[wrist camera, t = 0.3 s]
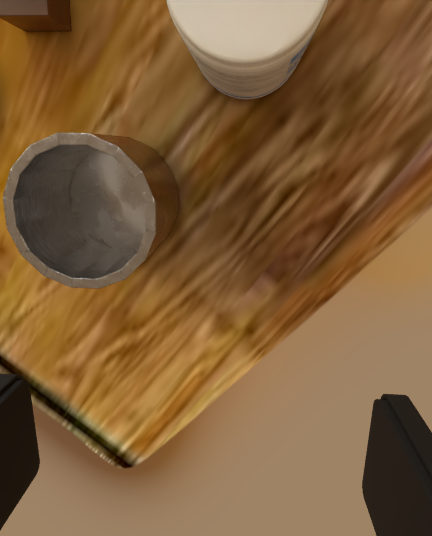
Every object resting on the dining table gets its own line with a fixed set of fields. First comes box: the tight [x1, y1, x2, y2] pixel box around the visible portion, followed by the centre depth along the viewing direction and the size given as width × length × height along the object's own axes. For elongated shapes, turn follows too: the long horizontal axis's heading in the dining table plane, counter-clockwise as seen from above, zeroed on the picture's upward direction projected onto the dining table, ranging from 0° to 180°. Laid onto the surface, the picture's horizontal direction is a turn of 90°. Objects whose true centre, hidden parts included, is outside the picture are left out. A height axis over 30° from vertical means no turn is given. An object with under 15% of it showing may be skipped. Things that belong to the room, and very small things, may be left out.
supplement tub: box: [166, 0, 328, 99], centre depth 28 cm, size 10×10×15 cm
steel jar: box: [3, 133, 179, 288], centre depth 35 cm, size 12×12×10 cm
